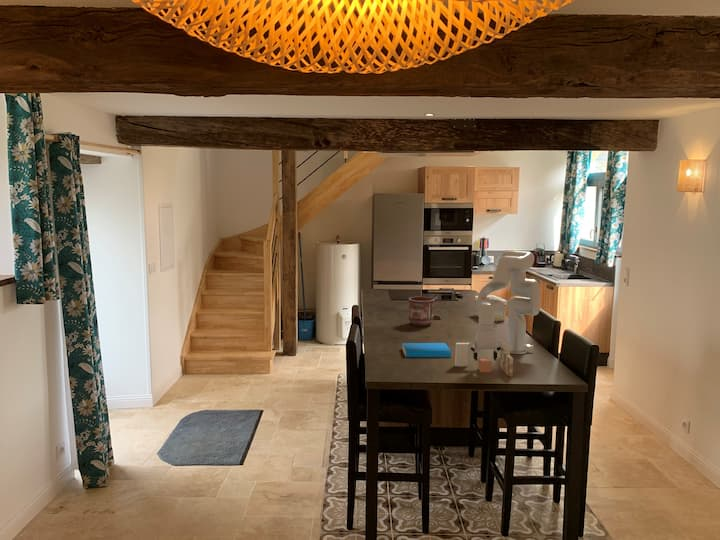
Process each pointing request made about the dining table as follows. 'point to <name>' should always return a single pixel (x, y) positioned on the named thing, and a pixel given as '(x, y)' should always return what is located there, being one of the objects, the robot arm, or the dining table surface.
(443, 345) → the book
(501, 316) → the storage basket
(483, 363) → the salmon pink cube
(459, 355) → the wall frame
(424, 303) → the pottery
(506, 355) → the beige wavy panel
